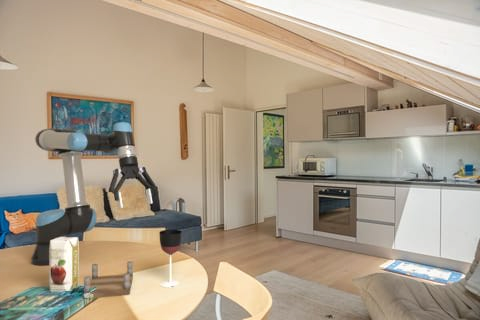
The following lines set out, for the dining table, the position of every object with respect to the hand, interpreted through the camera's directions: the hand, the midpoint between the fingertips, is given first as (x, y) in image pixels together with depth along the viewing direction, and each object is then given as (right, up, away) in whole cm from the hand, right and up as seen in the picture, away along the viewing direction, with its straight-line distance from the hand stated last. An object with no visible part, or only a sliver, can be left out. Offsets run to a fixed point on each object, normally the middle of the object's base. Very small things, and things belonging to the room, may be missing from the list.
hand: (136, 206), depth 137 cm
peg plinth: (-5, -28, -16) cm, 33 cm away
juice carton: (-21, -29, -18) cm, 39 cm away
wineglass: (+17, -29, -11) cm, 35 cm away
